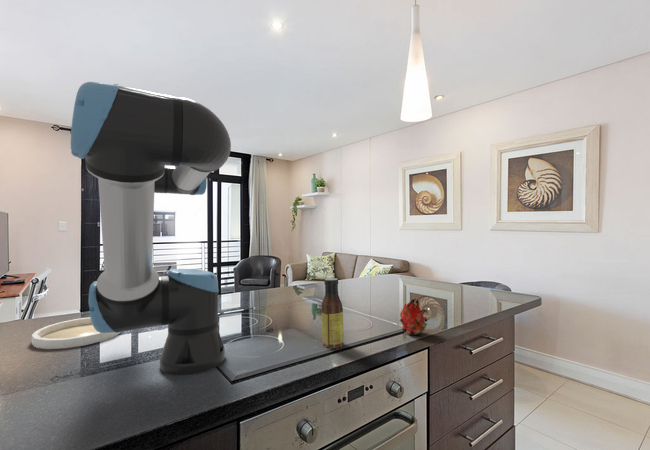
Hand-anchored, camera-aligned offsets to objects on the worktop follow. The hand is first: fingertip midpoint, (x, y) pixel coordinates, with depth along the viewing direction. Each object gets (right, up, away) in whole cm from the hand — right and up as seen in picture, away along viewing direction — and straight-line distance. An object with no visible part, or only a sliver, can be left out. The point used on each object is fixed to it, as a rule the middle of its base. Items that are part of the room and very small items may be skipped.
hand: (133, 288), depth 94 cm
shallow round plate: (-20, -16, +5) cm, 26 cm away
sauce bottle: (+60, -17, -3) cm, 62 cm away
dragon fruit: (+86, -17, +6) cm, 88 cm away
